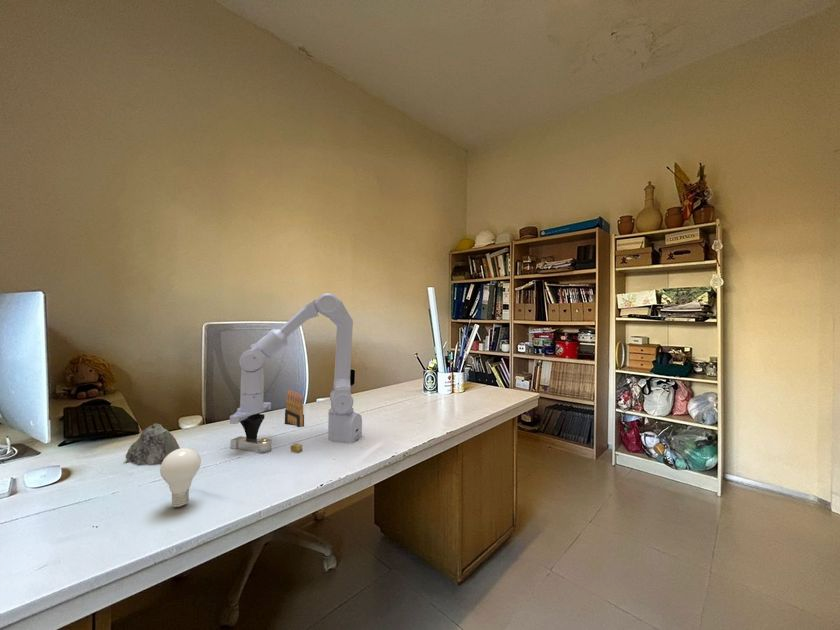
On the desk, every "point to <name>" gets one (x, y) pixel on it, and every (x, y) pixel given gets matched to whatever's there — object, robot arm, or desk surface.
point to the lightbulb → (180, 473)
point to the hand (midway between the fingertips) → (251, 442)
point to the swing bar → (251, 444)
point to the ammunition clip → (294, 409)
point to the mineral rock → (152, 446)
